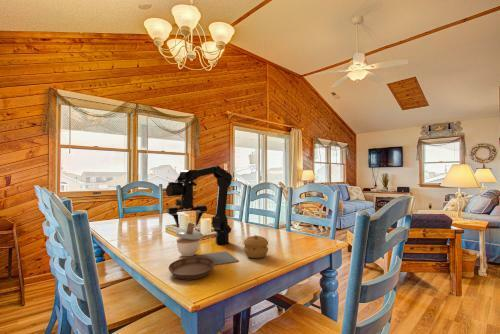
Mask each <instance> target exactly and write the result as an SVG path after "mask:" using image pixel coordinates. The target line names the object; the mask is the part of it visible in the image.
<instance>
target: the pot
mask: <svg viewBox="0 0 500 334" xmlns="http://www.w3.org/2000/svg"><path fill="white" fill-rule="evenodd" d="M243 245H244V246H243V248H242V249H243V252H244V254H245V255H246V256H247V257H248V258H252V259H261V258H264V257H265V256H266V255H267V253H268V251H269V247H268V245H269V241H268V239H266V238H265V237H263V236H259V235H256V234H255V235H253V236H251V235H250V236H247V237H246V238H245V239H244V241H243Z"/></svg>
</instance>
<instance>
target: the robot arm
mask: <svg viewBox="0 0 500 334" xmlns="http://www.w3.org/2000/svg"><path fill="white" fill-rule="evenodd" d="M208 175H213V177H214V178H215V179H216V184H217V186H218V196H217V206H216V213H215V215H214V216H212V218H211V225H212V228H213V230H214V231H213V232H215V233H216V234H215V240H214V241H215V243H216V244H217V245H219V246H222V245H228V244H231V242H229V241H230V240H229V239H230V238H229V236H230V235H229V234H230V233H231V232H232V228H231V226H230V225H229V223H228V221H229V220H228V217H227V215H226V212H227V201H228V200H227V199H228V190H229V188H230V187H231V184H232V179H233V176H232V174H231V173H230V172H228V171H227V170H225V169H224V168H223V167H222V168H221V166H219V165H211V166H207V167H203V168H197V169H183V170H181V171H179V174H178V177H177V179H176V180H175V182H173V181H169V182H168V184H167V186H166V189H165V195H166V196H167V197H169V198H171V197H180V199H179V198H177V199H175V206H168V207H167V209H166V213H167V214H168V215H170V216H172V217H173V220H174V221H175V224H176V225H175V226H176V227H177V228H178V229H180V228H179V226H180V223H179V222H180V221H179V212H192V211H193V212H194V211H195V226H196V227H197V226H198V225H199V222H200V221H201V220H200V219H201V217H202V215H203V214H205V212H208V206H206V205H205V204H197V205H194V199H195V197H194V186H195V187H196V186H198V185H197V184H198V183H196V182H195V181H196V180H197V179H199V178H200V177H201V178H202V177H204V176H208Z"/></svg>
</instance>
